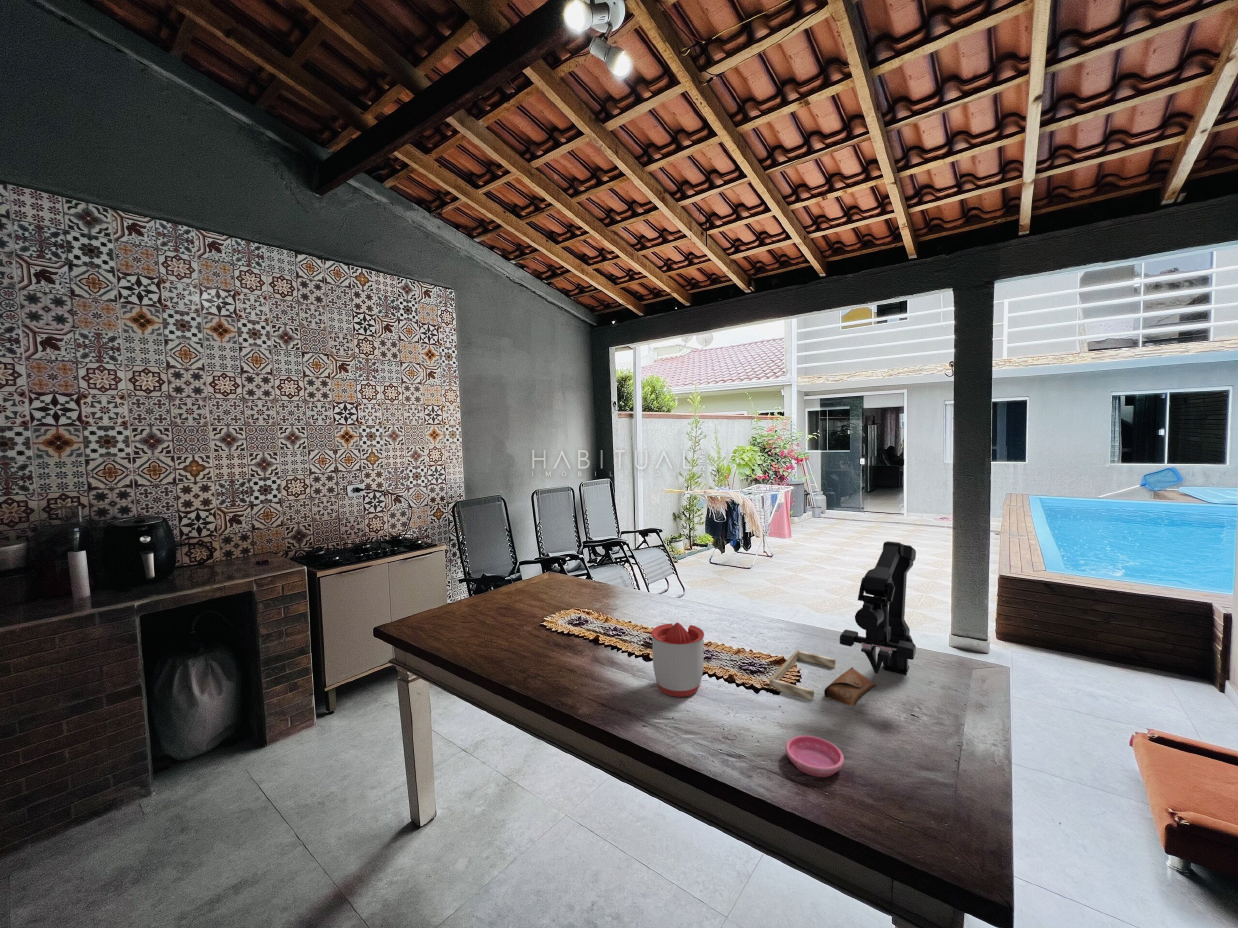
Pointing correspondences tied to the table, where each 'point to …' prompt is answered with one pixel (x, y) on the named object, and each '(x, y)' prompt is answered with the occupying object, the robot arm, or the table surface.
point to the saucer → (814, 755)
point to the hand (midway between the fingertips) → (876, 672)
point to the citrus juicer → (678, 658)
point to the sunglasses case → (849, 687)
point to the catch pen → (789, 663)
